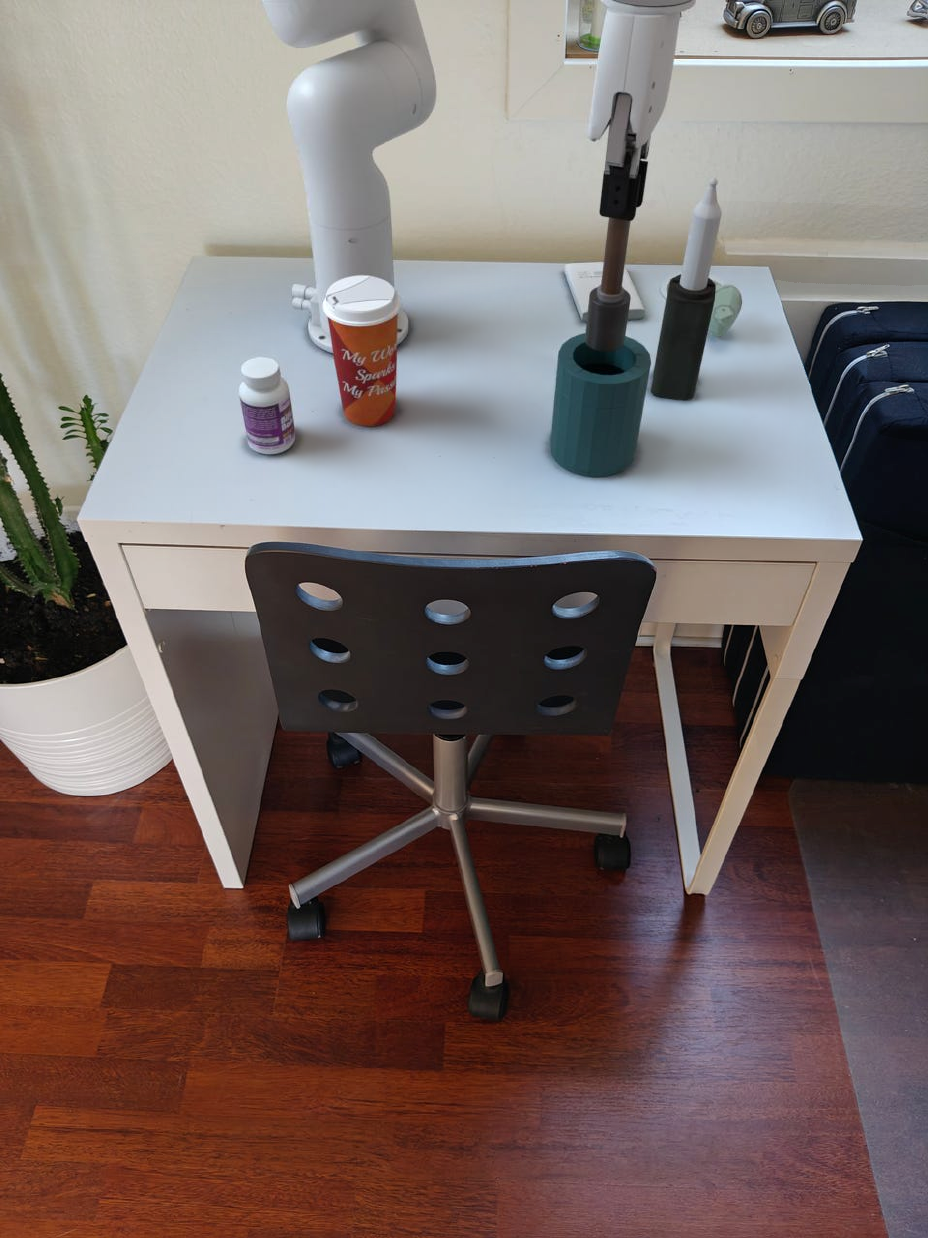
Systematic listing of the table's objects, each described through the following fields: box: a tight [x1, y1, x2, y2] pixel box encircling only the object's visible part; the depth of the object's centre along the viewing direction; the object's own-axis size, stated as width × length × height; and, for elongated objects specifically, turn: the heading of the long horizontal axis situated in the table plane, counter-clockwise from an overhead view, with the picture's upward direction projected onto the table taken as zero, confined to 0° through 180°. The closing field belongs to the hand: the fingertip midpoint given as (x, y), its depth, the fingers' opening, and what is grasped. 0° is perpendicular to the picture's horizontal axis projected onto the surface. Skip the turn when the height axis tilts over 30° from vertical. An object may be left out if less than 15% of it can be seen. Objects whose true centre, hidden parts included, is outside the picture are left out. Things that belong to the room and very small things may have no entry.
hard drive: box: [564, 261, 646, 323], centre depth 132 cm, size 2×8×12 cm
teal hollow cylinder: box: [549, 332, 652, 478], centre depth 107 cm, size 9×9×12 cm
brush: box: [584, 148, 633, 352], centre depth 94 cm, size 4×4×19 cm
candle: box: [650, 177, 723, 401], centre depth 110 cm, size 5×5×25 cm
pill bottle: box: [238, 356, 296, 455], centre depth 108 cm, size 5×5×10 cm
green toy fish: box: [708, 283, 743, 337], centre depth 124 cm, size 8×4×7 cm, turn 2°
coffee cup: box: [323, 275, 402, 427], centre depth 110 cm, size 8×8×15 cm
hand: (620, 208), depth 90 cm, fingers closed on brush, 2 cm apart
